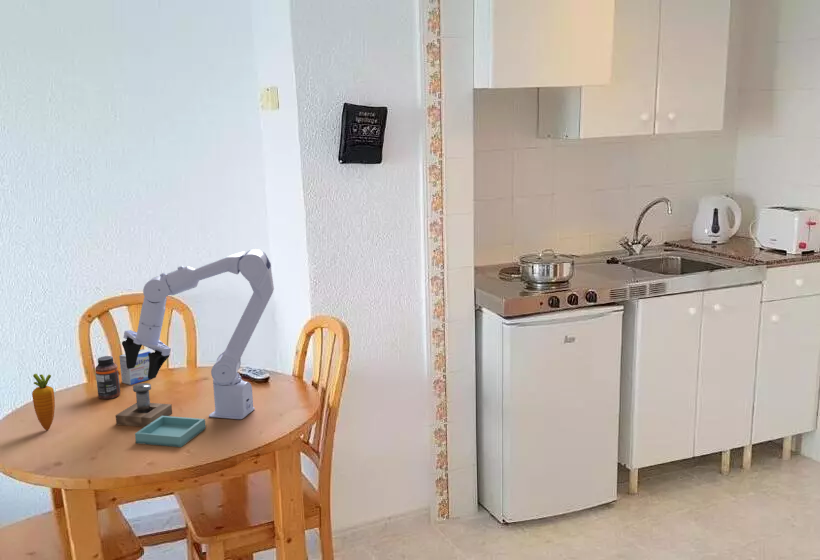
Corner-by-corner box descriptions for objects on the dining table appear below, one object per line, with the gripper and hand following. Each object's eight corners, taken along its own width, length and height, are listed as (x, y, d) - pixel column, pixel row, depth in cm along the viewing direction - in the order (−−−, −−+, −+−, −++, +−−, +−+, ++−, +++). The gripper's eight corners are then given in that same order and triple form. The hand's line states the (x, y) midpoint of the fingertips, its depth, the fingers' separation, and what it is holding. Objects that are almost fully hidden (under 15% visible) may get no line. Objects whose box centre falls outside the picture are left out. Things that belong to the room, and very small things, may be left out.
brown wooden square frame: (172, 413, 212) (171, 404, 211) (151, 427, 202) (150, 417, 202) (138, 410, 214) (137, 401, 214) (116, 424, 205) (115, 415, 204)
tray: (205, 428, 201) (204, 418, 200) (180, 447, 189) (180, 437, 189) (162, 425, 204) (161, 415, 203) (135, 443, 192) (134, 433, 192)
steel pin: (157, 416, 210) (154, 383, 208) (147, 422, 205) (144, 389, 204) (142, 415, 211) (139, 382, 209) (132, 421, 207) (129, 388, 205)
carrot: (62, 427, 203) (56, 370, 200) (48, 434, 199) (42, 376, 196) (45, 425, 205) (39, 369, 202) (32, 433, 200) (25, 375, 197)
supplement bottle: (113, 391, 230) (109, 353, 228) (124, 395, 227) (121, 356, 224) (94, 397, 226) (90, 358, 224) (105, 401, 222) (101, 362, 220)
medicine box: (130, 385, 235) (127, 357, 233) (121, 383, 238) (118, 354, 236) (153, 378, 241) (150, 350, 240) (144, 376, 244) (142, 348, 242)
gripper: (118, 315, 204) (109, 365, 207) (160, 333, 198) (149, 385, 200) (139, 313, 211) (130, 361, 213) (180, 330, 204) (170, 380, 207)
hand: (141, 372), depth 207 cm, fingers open, 7 cm apart
